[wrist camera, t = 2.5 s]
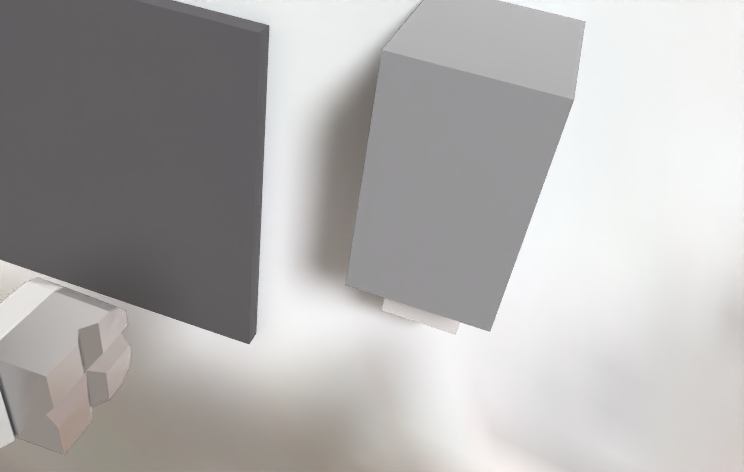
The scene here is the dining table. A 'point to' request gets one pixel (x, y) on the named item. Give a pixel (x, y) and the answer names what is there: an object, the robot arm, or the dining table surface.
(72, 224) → the rubber mat
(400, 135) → the grey plug
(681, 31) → the dining table surface
